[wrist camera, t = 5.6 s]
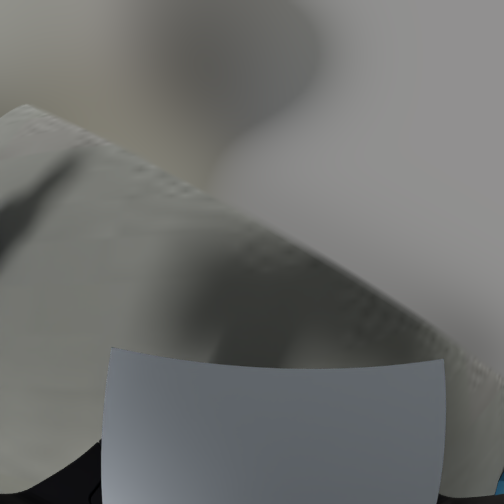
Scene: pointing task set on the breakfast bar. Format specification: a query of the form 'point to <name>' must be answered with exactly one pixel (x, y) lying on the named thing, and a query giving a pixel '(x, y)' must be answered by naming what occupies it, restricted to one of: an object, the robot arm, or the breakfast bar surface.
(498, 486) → the cup
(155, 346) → the breakfast bar surface
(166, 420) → the pull handle
